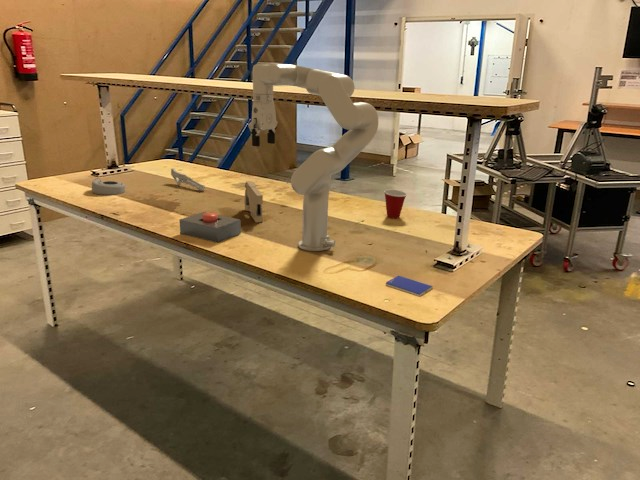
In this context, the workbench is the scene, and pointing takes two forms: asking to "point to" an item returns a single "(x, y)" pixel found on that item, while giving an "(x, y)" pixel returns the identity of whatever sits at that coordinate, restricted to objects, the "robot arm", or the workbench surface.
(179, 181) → the gun
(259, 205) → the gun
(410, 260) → the workbench surface
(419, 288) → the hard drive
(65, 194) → the workbench surface
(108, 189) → the turbocharger housing
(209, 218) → the button
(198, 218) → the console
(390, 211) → the plastic cup
